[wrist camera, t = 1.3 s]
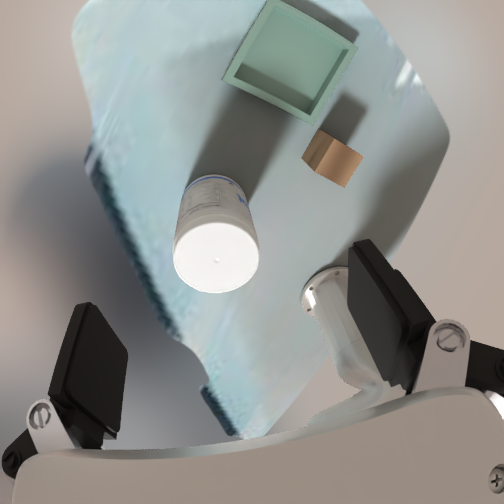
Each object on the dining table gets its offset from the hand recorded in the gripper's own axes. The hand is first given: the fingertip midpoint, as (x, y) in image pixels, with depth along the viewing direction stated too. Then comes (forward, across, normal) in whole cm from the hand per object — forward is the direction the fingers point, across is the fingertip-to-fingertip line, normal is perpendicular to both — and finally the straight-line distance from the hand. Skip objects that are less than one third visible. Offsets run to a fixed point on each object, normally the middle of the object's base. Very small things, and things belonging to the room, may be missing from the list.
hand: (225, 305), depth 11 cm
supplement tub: (+33, +2, +12) cm, 35 cm away
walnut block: (+33, -15, +7) cm, 37 cm away
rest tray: (+33, -12, -7) cm, 36 cm away
